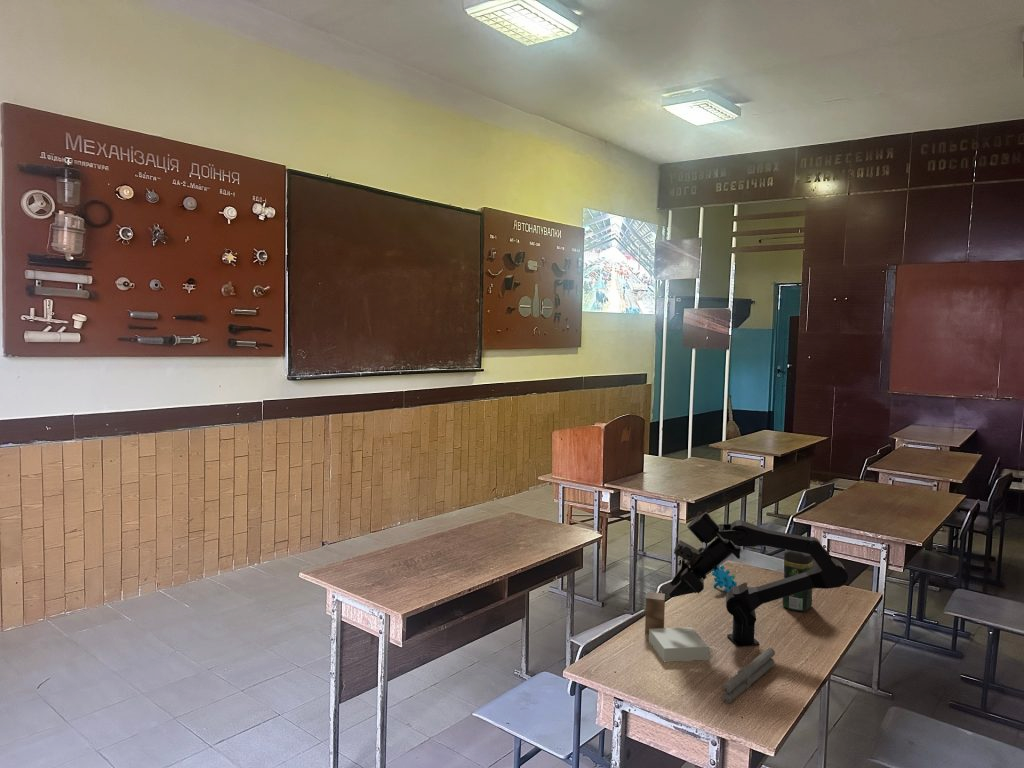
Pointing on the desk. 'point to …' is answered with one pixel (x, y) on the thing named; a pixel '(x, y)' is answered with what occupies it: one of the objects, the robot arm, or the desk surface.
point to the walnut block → (654, 611)
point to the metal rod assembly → (748, 675)
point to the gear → (723, 578)
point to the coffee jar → (794, 566)
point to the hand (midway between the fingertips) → (670, 590)
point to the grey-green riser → (678, 644)
